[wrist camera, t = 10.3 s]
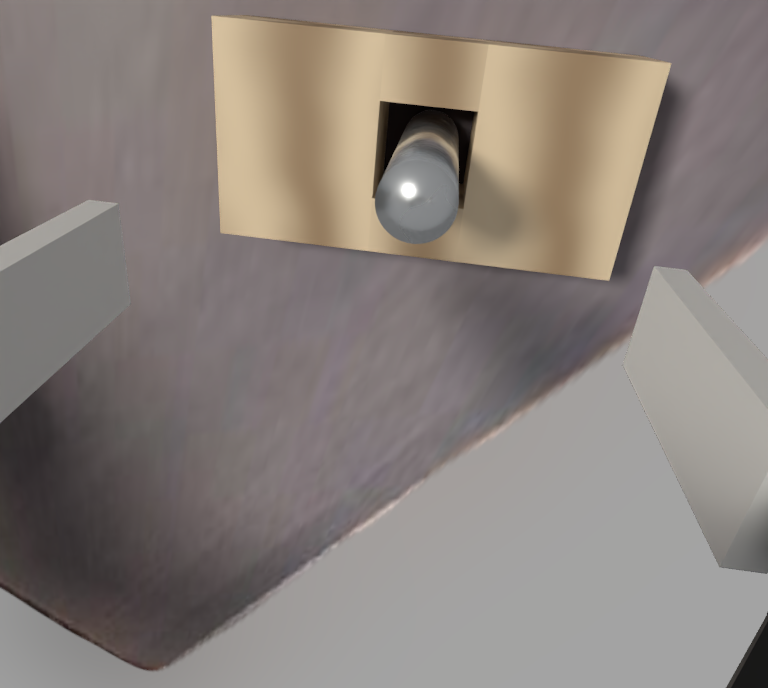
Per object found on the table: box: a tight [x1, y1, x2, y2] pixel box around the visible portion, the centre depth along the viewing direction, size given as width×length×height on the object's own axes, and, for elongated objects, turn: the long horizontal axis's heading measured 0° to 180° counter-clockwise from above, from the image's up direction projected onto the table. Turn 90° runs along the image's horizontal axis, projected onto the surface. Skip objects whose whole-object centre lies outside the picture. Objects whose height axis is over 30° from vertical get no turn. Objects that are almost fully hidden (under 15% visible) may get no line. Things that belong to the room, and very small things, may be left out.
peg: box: [375, 110, 459, 244], centre depth 28 cm, size 3×3×13 cm
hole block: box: [212, 15, 671, 281], centre depth 31 cm, size 20×10×5 cm, turn 85°
